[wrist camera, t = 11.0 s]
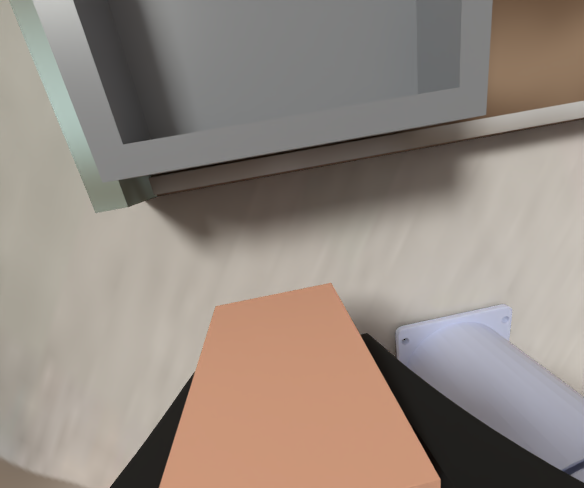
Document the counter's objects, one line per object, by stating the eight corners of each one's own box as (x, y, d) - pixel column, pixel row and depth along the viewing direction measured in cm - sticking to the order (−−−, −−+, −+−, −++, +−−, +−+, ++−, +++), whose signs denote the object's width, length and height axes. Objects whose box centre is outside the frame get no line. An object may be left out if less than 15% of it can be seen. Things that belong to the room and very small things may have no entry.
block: (343, 374, 11) (438, 626, 5) (242, 396, 10) (217, 685, 5) (331, 282, 9) (440, 479, 4) (215, 306, 9) (137, 554, 3)
